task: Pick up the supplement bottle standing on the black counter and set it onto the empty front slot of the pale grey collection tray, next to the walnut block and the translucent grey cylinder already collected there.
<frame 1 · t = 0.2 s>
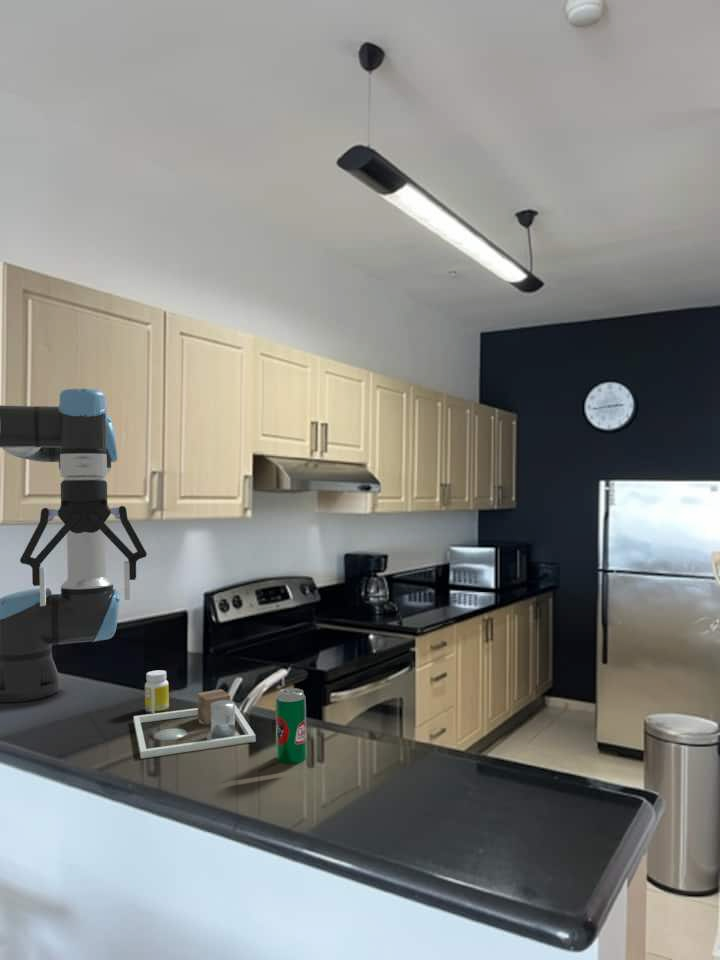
hand: (86, 602, 123), 28 cm above the counter, fingers open, 13 cm apart
translucent grey cylinder: (223, 736, 132), point 1 cm above the counter, touching collection tray
soda can: (291, 763, 122), on the counter
collection tray: (192, 734, 135), on the counter
supplement bottle: (157, 713, 148), on the counter
walnut block: (214, 719, 142), point 1 cm above the counter, touching collection tray
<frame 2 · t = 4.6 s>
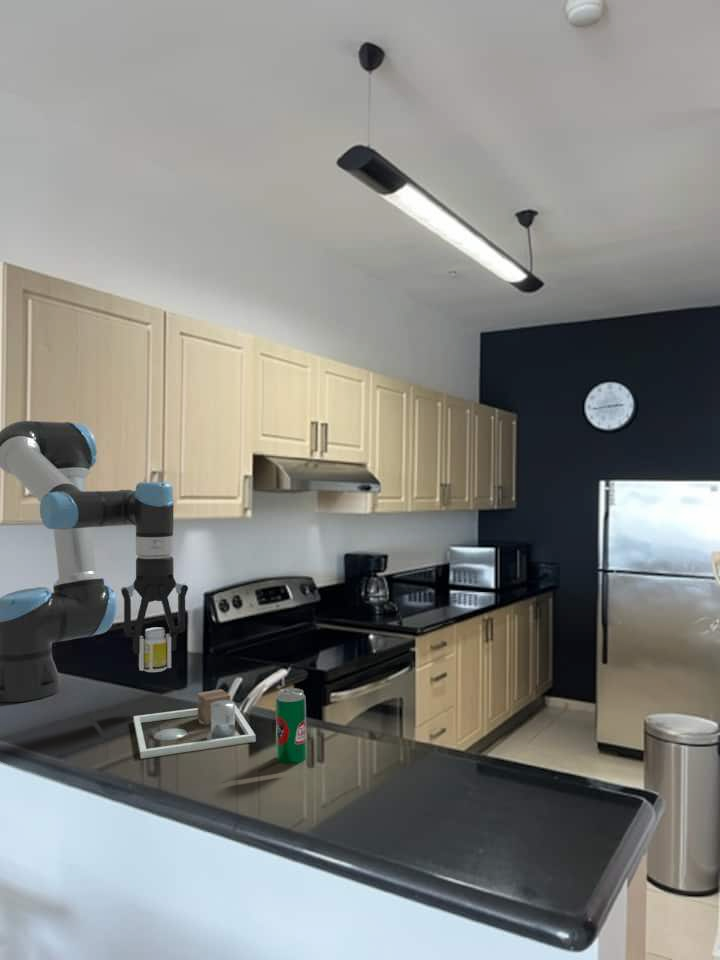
hand: (155, 667, 149), 9 cm above the counter, fingers closed on supplement bottle, 5 cm apart
supplement bottle: (155, 670, 149), point 9 cm above the counter, touching gripper
everything else where it was.
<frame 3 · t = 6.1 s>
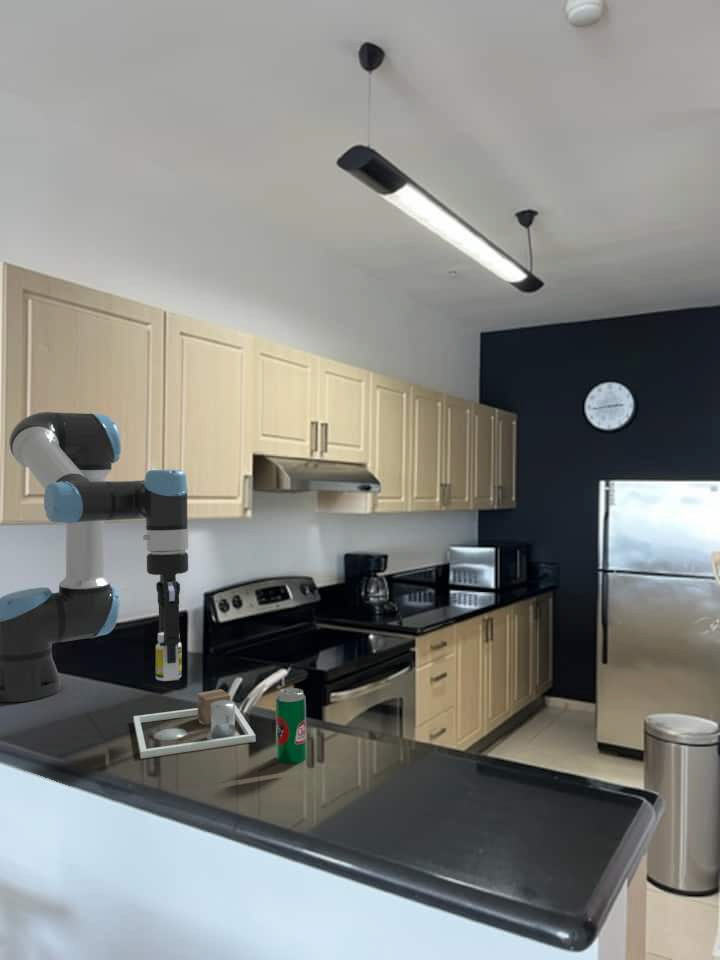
hand: (169, 675, 134), 12 cm above the counter, fingers closed on supplement bottle, 5 cm apart
supplement bottle: (168, 678, 134), point 11 cm above the counter, touching gripper
everything else where it was.
when the fingers open (1 cm above the counter, at t = 8.2 s): supplement bottle stays where it is, resting on collection tray.
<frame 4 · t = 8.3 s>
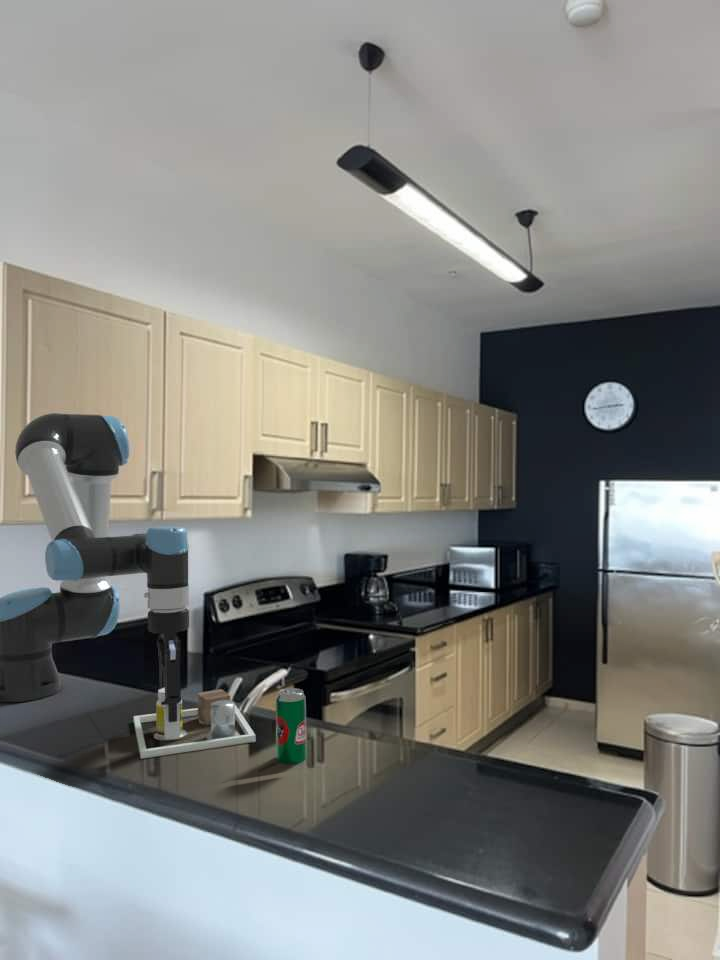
hand: (170, 731, 134), 1 cm above the counter, fingers open, 6 cm apart
supplement bottle: (169, 735, 134), point 1 cm above the counter, touching collection tray
everything else where it was.
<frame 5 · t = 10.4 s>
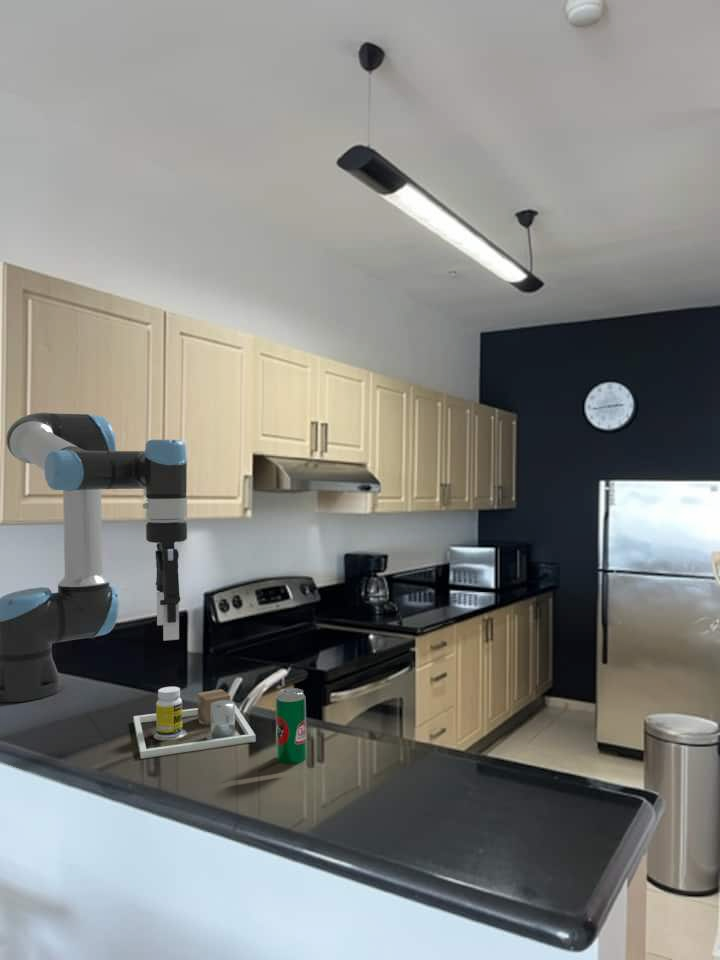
hand: (167, 631, 136), 19 cm above the counter, fingers open, 13 cm apart
nothing on the counter moved.
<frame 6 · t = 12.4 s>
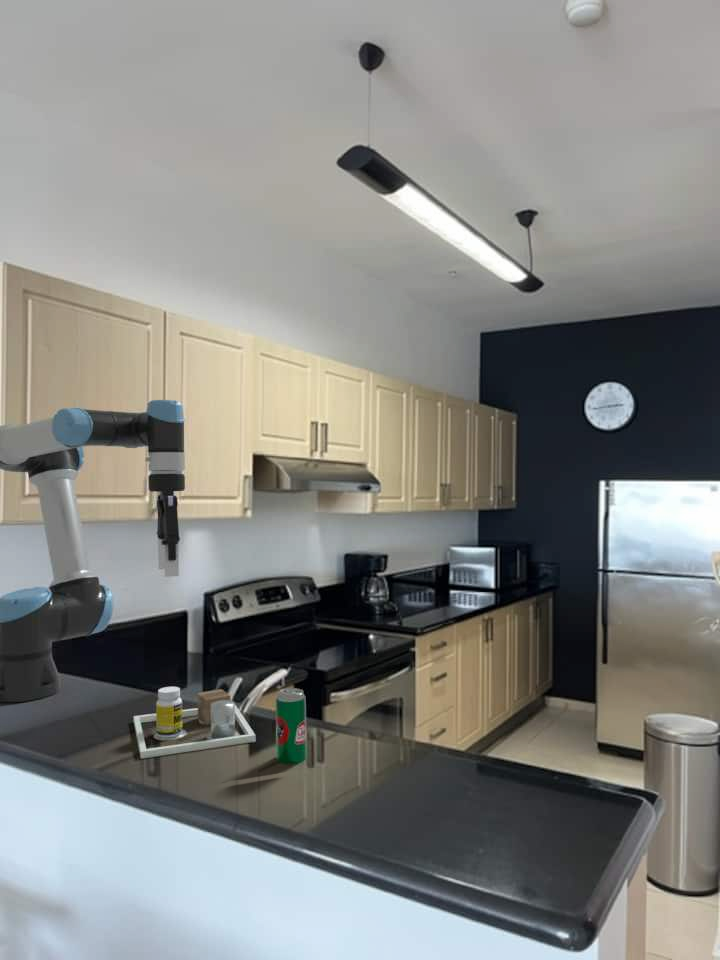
hand: (168, 572, 152), 29 cm above the counter, fingers open, 13 cm apart
nothing on the counter moved.
at the end: supplement bottle inside the target area on the collection tray (0.3 cm from its centre), point 0.5 cm above the collection tray's base; supplement bottle tilted 0°; the gripper is holding nothing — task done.
